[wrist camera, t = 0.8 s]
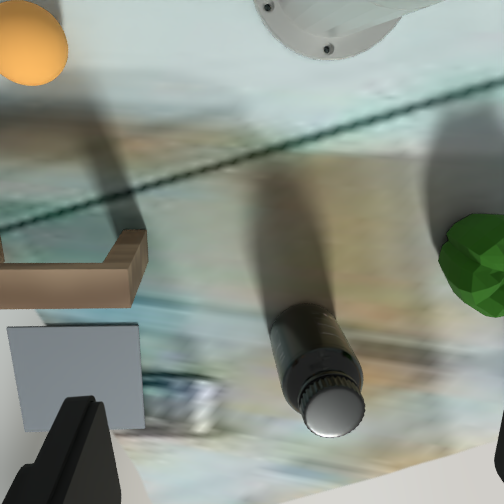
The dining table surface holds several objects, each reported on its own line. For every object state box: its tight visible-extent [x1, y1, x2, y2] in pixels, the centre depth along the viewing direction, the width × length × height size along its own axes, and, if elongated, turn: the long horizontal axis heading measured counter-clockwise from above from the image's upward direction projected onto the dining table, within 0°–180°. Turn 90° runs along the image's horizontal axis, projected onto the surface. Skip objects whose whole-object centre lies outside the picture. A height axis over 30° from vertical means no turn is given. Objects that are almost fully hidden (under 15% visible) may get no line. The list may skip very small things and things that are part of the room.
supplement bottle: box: [270, 304, 365, 438], centre depth 40 cm, size 7×7×12 cm
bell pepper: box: [438, 214, 504, 318], centre depth 39 cm, size 8×8×10 cm
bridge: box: [0, 230, 148, 309], centre depth 36 cm, size 3×14×9 cm, turn 88°
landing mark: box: [7, 325, 145, 432], centre depth 45 cm, size 12×12×1 cm
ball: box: [0, 0, 68, 86], centre depth 32 cm, size 6×6×6 cm
